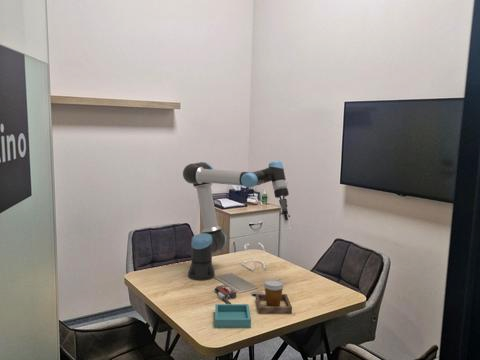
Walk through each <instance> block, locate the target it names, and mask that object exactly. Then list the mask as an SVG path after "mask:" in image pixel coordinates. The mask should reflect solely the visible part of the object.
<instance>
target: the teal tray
mask: <svg viewBox="0 0 480 360" xmlns="http://www.w3.org/2000/svg"><path fill="white" fill-rule="evenodd" d="M214 309H215V310H214V328H215V329H216V328H217V329H219V328H222V329H223V328H225V329H226V328H234V329H235V328H237V329H238V328H239V329H241V328H243V329H244V328H246V329H247V328H252V317H251V311H250V305H249V303H239V304H237V303H231V304H229V303H226V304H225V303H216V304H215V306H214Z"/></svg>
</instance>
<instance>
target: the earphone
mask: <svg viewBox="0 0 480 360" xmlns="http://www.w3.org/2000/svg"><path fill="white" fill-rule="evenodd" d="M257 246H258V247H259V248H260V247H262V249H263V251H264V252H263V253H264V257H265V258H264V259H265V261H264V262H262V261H260V260H255V259H253V258H252V256H251V255H250V253H249V252H248V250H247V249H248V248H249V247H250V243H245V244H244V246H243V247H244V250H245V251H246V252H247V254H248V255H249V257H250V258H251V260H245V261H242V262H241V265H242V266H243V267H245V268H246V269H247V270H249V271H251V272H254V271H255V270H256V269H257V268H256V262H257V263H260V264H262V268H263V270H264V271H266V270H267V268H266V261H267V256H266V251H265V249H264V248H265V247H264V245H263V244H262V243H261V242H258V243H257ZM252 262H253V264H254V269H253V268H252V267H250V266H247V265H245V263H252Z"/></svg>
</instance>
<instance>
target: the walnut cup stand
mask: <svg viewBox="0 0 480 360" xmlns="http://www.w3.org/2000/svg"><path fill="white" fill-rule="evenodd" d="M287 294H288V293H282V296H281V302H284V304H285V306H281V305H280V306H267V305H266V306H264V305H263V306H262V305H261V302H266V295H265V293H255V303H256V309H257V312H258V314H259V315H264V314H265V315H267V314H268V315H269V314H270V315H275V314H276V315H279V314H281V315H283V314H284V315H286V314H293V307H292V304H291V301H290V299H289V297H288V295H287Z"/></svg>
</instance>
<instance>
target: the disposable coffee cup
mask: <svg viewBox="0 0 480 360" xmlns="http://www.w3.org/2000/svg"><path fill="white" fill-rule="evenodd" d="M284 286H285V285H284V281H282V280H280V279H274V278H273V279H272V278H271V279H267V280H265V281H264V284H263V287H264V292H265V293H264V294H265V295H266V301H265V304H266V306H281V302H282V301H281V296H282V294H283V290H284Z"/></svg>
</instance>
